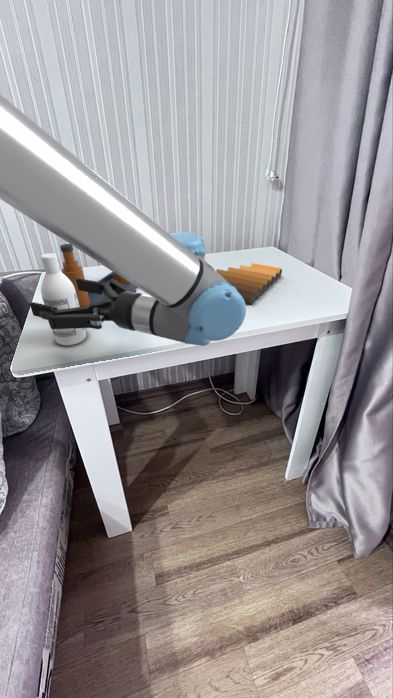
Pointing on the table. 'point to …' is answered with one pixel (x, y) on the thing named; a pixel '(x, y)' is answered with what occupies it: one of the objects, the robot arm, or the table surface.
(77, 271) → the amber bottle near
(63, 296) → the bath foam
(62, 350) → the table surface
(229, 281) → the pan flute
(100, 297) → the tray
